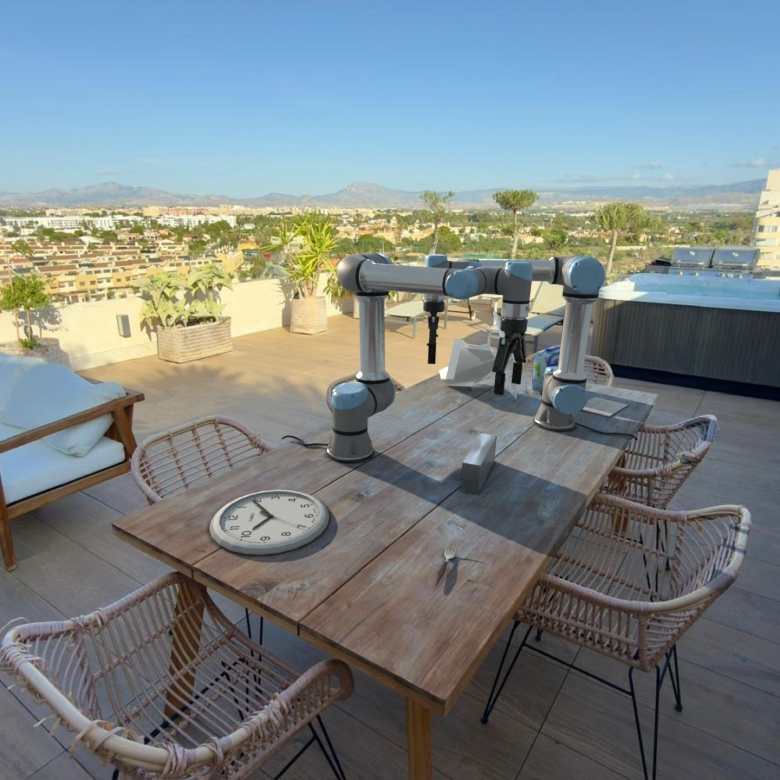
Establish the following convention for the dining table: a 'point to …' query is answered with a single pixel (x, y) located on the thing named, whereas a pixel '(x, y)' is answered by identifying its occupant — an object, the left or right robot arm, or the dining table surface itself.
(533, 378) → the lunch box
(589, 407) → the invitation card
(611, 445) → the dining table surface
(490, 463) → the bar
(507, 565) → the dining table surface
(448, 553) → the fork
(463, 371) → the white plastic object
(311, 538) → the wall clock
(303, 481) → the dining table surface
